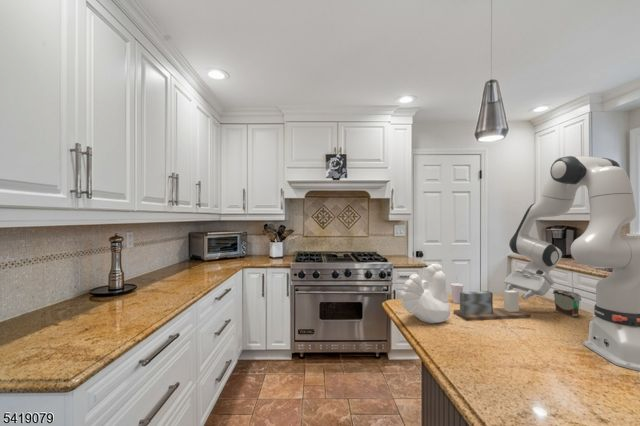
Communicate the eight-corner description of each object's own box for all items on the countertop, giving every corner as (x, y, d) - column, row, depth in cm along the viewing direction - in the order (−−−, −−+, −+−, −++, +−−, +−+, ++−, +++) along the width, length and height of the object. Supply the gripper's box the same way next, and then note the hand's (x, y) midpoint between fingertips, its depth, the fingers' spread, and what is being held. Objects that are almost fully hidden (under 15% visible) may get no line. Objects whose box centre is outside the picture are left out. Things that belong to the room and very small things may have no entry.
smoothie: (460, 300, 152) (460, 275, 152) (465, 304, 146) (465, 277, 146) (448, 300, 153) (448, 274, 153) (453, 304, 146) (452, 277, 147)
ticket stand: (513, 310, 136) (512, 288, 137) (530, 317, 126) (530, 293, 127) (453, 313, 133) (453, 290, 133) (466, 320, 123) (466, 295, 123)
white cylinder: (513, 309, 133) (513, 290, 133) (518, 311, 130) (518, 292, 130) (504, 309, 132) (503, 290, 132) (509, 311, 129) (508, 292, 129)
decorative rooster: (435, 312, 134) (434, 260, 135) (459, 324, 119) (458, 265, 120) (388, 316, 128) (387, 262, 128) (407, 330, 113) (407, 268, 113)
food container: (589, 319, 125) (589, 296, 125) (575, 318, 125) (575, 296, 125) (565, 309, 137) (565, 289, 138) (553, 309, 138) (552, 289, 138)
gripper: (511, 266, 142) (494, 285, 141) (549, 273, 122) (529, 296, 121) (519, 274, 143) (502, 294, 141) (558, 283, 123) (538, 306, 121)
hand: (515, 295), depth 131 cm, fingers open, 8 cm apart
